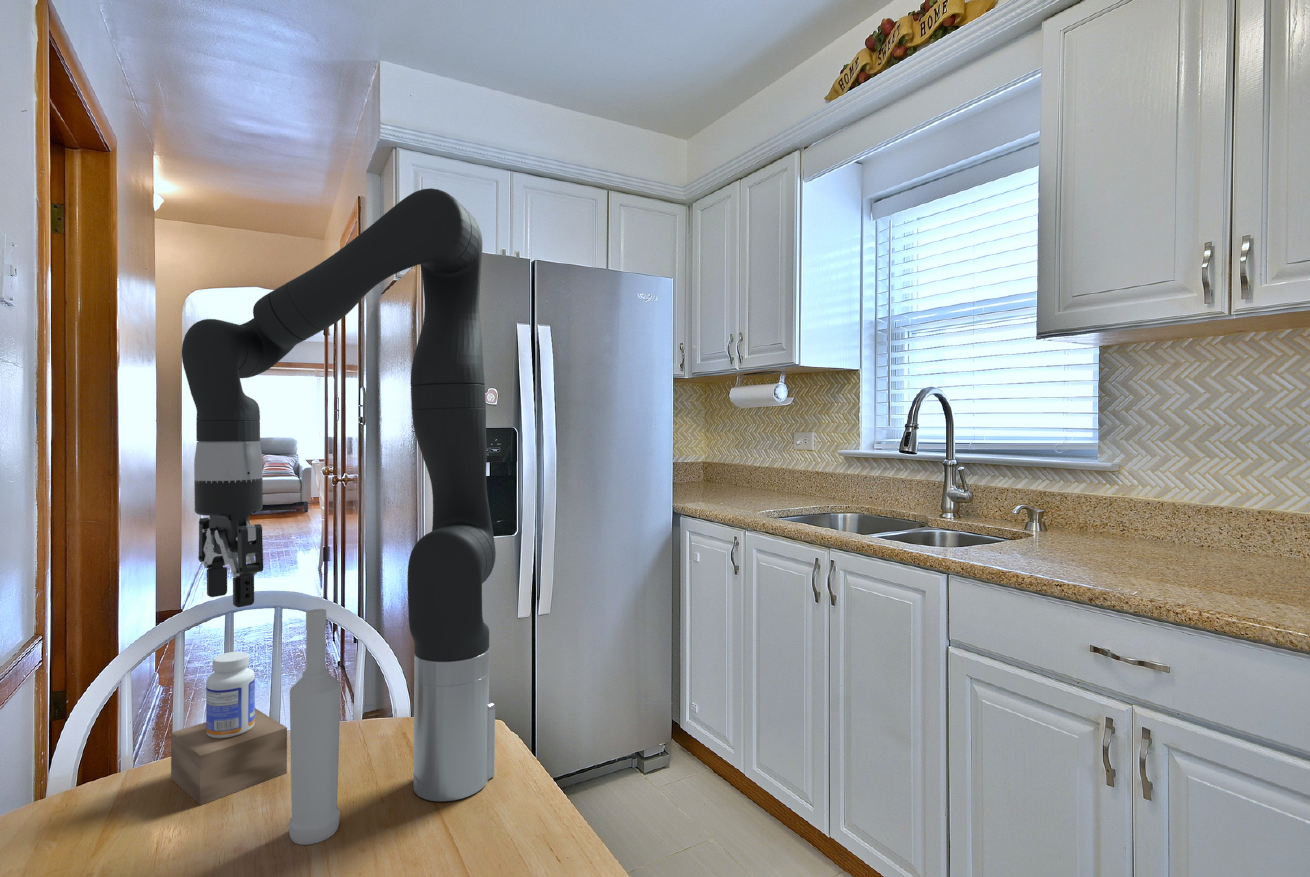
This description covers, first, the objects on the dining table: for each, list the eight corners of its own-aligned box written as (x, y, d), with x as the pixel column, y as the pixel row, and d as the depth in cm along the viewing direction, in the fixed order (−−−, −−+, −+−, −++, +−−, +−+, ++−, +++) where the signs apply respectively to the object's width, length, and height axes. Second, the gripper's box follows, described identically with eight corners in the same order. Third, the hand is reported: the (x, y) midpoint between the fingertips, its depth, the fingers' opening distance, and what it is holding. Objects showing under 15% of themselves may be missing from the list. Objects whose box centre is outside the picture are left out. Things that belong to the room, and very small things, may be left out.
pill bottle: (234, 718, 92) (234, 647, 92) (264, 725, 90) (264, 652, 90) (195, 735, 87) (195, 659, 87) (226, 742, 85) (226, 665, 85)
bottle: (319, 848, 74) (320, 619, 73) (277, 842, 75) (279, 615, 74) (349, 821, 79) (351, 606, 78) (310, 816, 80) (312, 604, 79)
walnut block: (254, 750, 96) (254, 707, 96) (286, 772, 90) (287, 727, 89) (171, 778, 88) (171, 732, 88) (200, 805, 82) (200, 755, 82)
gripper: (284, 477, 87) (284, 603, 87) (238, 472, 96) (239, 587, 96) (218, 480, 81) (219, 616, 81) (175, 475, 90) (176, 598, 90)
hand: (229, 600), depth 88 cm, fingers open, 8 cm apart
